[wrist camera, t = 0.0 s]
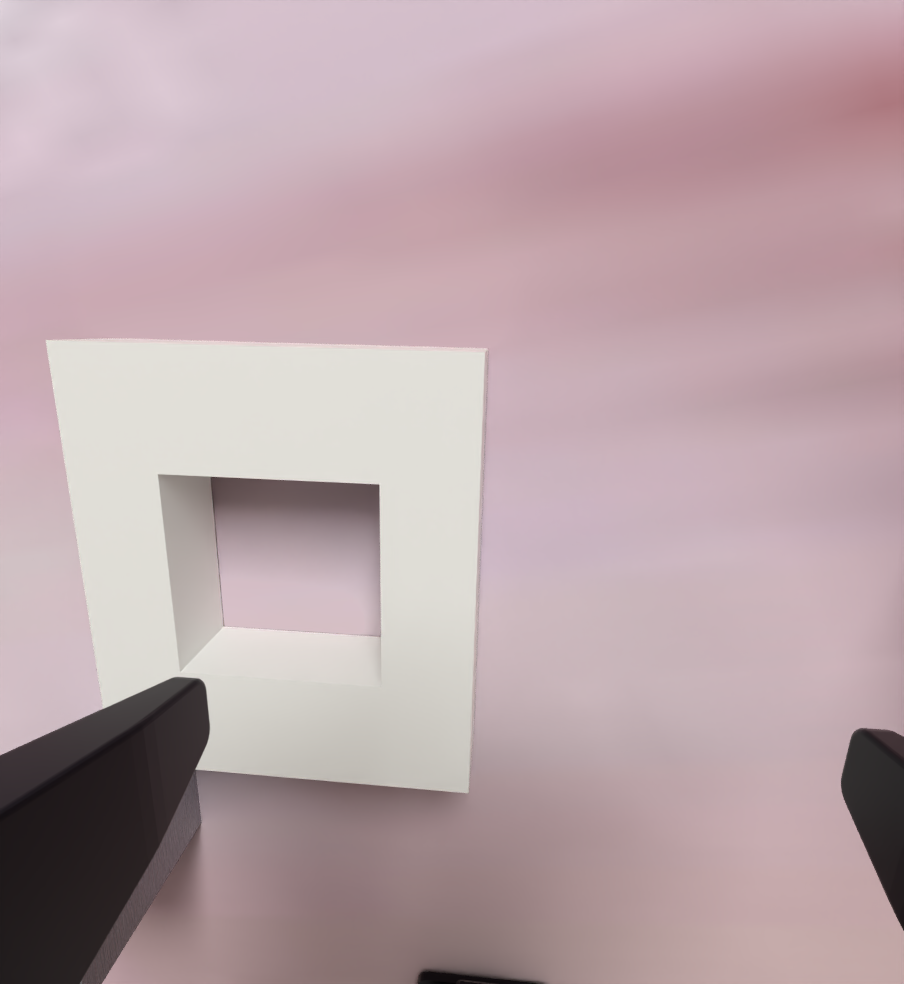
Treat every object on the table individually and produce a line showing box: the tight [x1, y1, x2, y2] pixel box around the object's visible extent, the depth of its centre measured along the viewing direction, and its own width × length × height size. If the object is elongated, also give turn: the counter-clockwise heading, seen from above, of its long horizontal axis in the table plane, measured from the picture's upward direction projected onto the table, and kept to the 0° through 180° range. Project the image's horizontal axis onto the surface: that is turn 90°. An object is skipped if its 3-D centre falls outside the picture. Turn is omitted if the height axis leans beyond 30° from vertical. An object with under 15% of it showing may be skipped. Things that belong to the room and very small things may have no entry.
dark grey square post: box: [80, 770, 201, 984], centre depth 24 cm, size 4×4×8 cm
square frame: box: [46, 338, 489, 793], centre depth 22 cm, size 16×14×4 cm
